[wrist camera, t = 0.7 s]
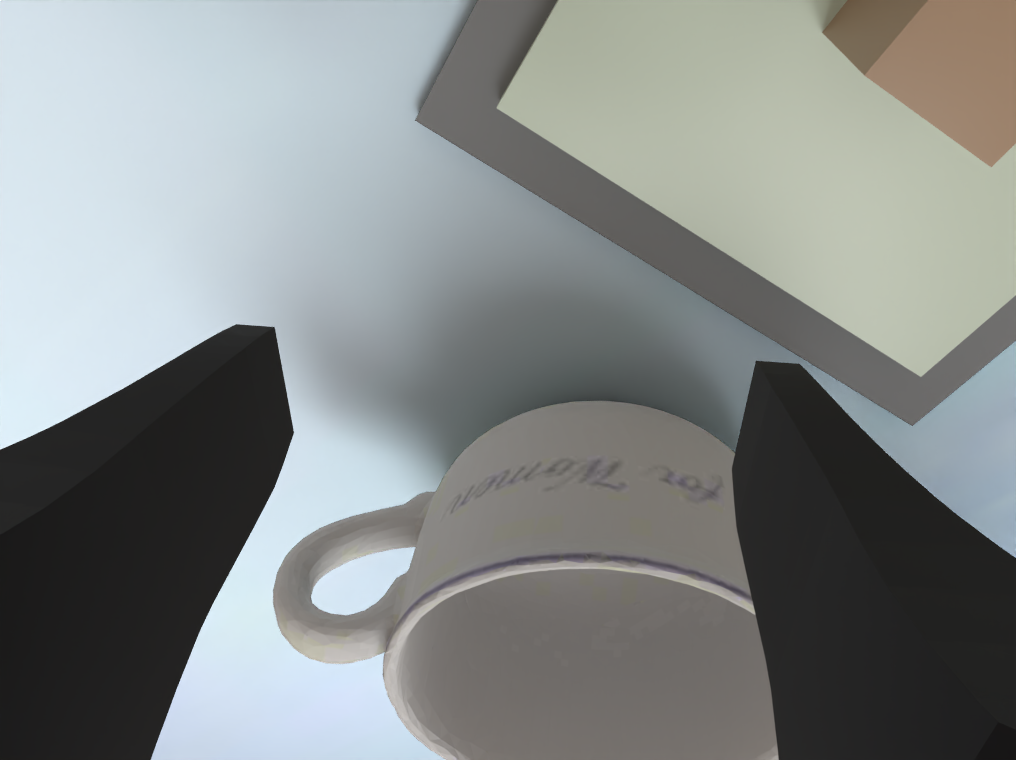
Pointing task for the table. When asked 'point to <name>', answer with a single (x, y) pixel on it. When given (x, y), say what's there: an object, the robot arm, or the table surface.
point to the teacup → (558, 596)
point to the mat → (668, 222)
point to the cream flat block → (806, 144)
